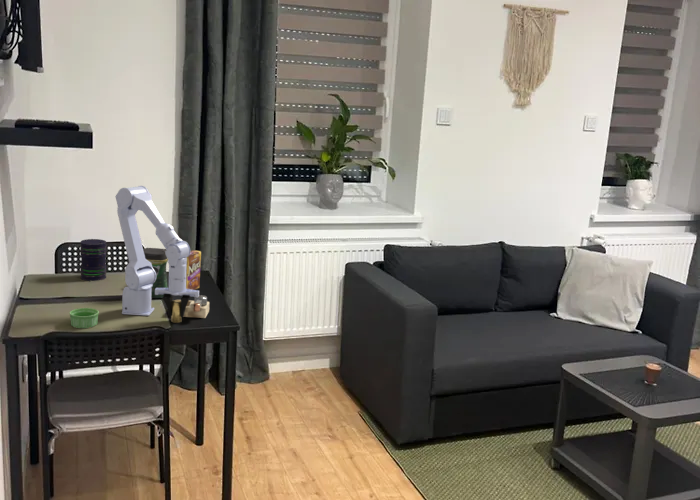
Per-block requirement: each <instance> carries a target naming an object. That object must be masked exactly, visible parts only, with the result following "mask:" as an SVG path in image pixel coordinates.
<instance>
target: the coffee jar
mask: <svg viewBox="0 0 700 500" xmlns="http://www.w3.org/2000/svg"><path fill="white" fill-rule="evenodd" d="M143 251H144V255H145V259H146V260H148V261H149V262H151V264H152V267H153V269H154V270H155V272H156V281H155V282H154V283H153V286H152V291H151V299H163V296H164V295H162V294H158V295H155V289H156V288H169V285H168V279H167V278H168V277H167V264H168V258H167V256H166V253H165V251H167V250H166V248H159V247H157V248H156V247H145V248H143Z"/></svg>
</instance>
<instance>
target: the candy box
mask: <svg viewBox="0 0 700 500" xmlns="http://www.w3.org/2000/svg"><path fill="white" fill-rule="evenodd" d="M186 258H187V267H186V289H191V290H198V289H200V278H201V264H202V263H201V262H202V251H201V250H193V249H192V250H191V252H190V255H189V256H188V257H186Z"/></svg>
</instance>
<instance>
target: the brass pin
mask: <svg viewBox="0 0 700 500" xmlns="http://www.w3.org/2000/svg"><path fill="white" fill-rule="evenodd" d="M182 318H183V317H181V299H175V300H174V299H173V301H172V313H171V316H170V319H171V320H170V321H171V322H172V323H173V324H174V323H176V324H177V323H182Z"/></svg>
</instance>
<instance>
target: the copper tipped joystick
mask: <svg viewBox="0 0 700 500" xmlns="http://www.w3.org/2000/svg"><path fill="white" fill-rule="evenodd" d="M193 298H194V300H193V301H194V305H193V311H195V312H199V311H200V308H201V306H206V305H207V302H208V296H207V295H202V294H201V295H200V294H199V297H193Z"/></svg>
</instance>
